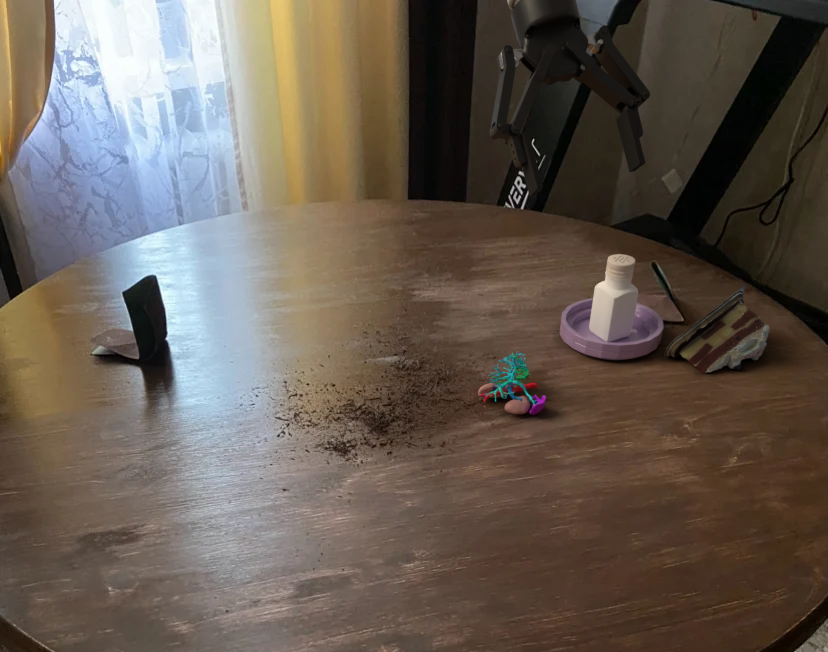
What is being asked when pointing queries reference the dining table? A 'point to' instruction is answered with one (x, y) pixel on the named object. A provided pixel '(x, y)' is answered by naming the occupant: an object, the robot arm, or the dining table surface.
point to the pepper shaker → (614, 300)
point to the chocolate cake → (722, 336)
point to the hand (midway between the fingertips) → (587, 180)
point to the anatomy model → (513, 388)
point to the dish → (632, 346)
